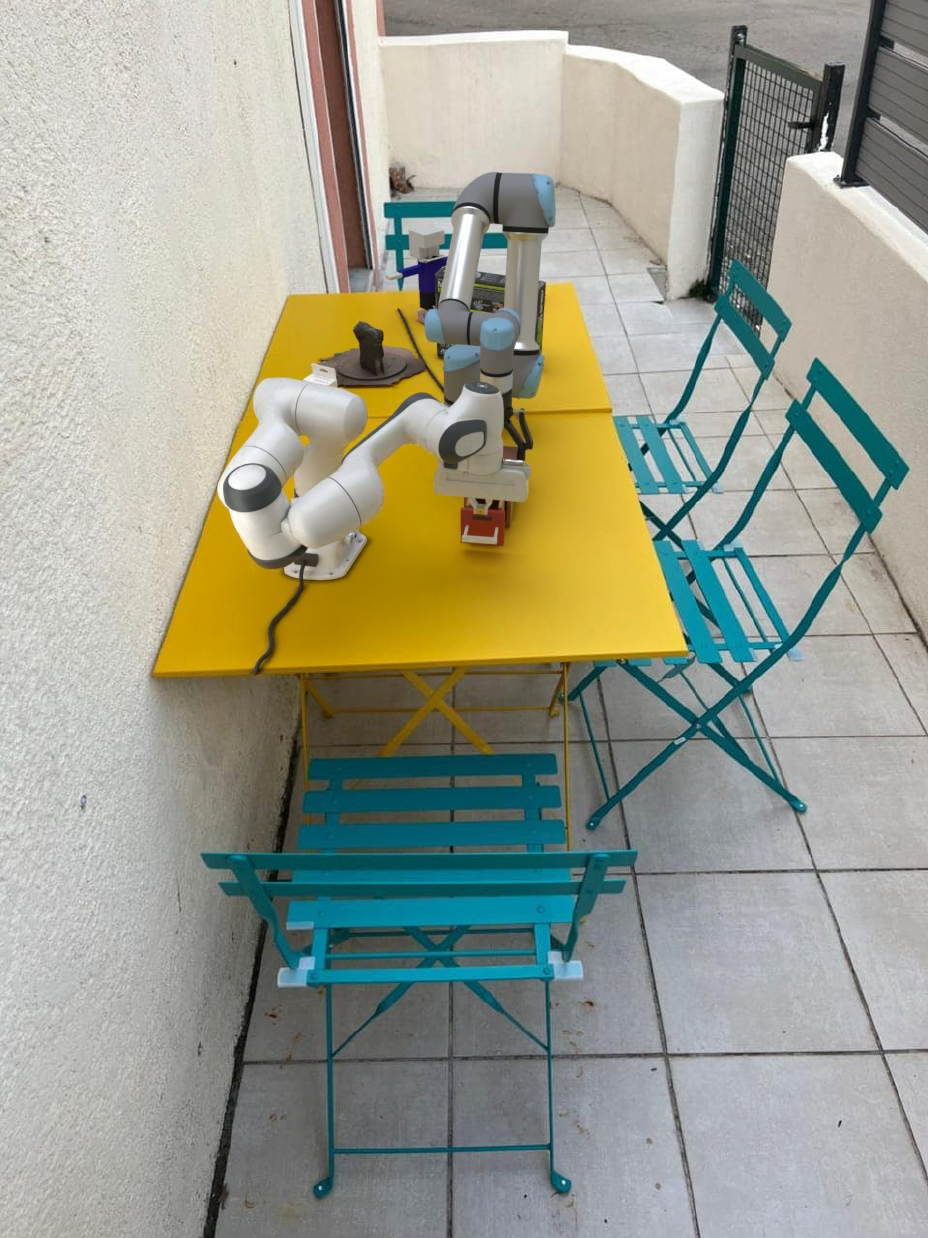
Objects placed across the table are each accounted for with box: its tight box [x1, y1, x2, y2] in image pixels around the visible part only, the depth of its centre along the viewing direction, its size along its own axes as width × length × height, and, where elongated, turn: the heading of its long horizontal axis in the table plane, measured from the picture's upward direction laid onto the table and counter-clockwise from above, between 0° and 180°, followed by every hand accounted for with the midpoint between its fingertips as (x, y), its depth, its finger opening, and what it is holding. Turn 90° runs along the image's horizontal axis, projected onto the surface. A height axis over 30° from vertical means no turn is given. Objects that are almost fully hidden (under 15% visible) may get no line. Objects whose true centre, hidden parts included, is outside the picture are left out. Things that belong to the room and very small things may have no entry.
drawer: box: [460, 497, 507, 547], centre depth 204 cm, size 25×10×9 cm, turn 172°
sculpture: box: [316, 320, 426, 387], centre depth 273 cm, size 33×35×16 cm
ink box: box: [302, 363, 338, 388], centre depth 249 cm, size 9×5×15 cm, turn 62°
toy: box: [384, 223, 448, 325], centre depth 298 cm, size 35×10×30 cm, turn 130°
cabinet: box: [463, 445, 518, 527], centre depth 215 cm, size 20×11×11 cm, turn 172°
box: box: [435, 266, 547, 359], centre depth 273 cm, size 34×7×27 cm, turn 68°
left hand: (480, 512), depth 193 cm, fingers closed
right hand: (494, 471), depth 219 cm, fingers closed on cabinet, 11 cm apart
